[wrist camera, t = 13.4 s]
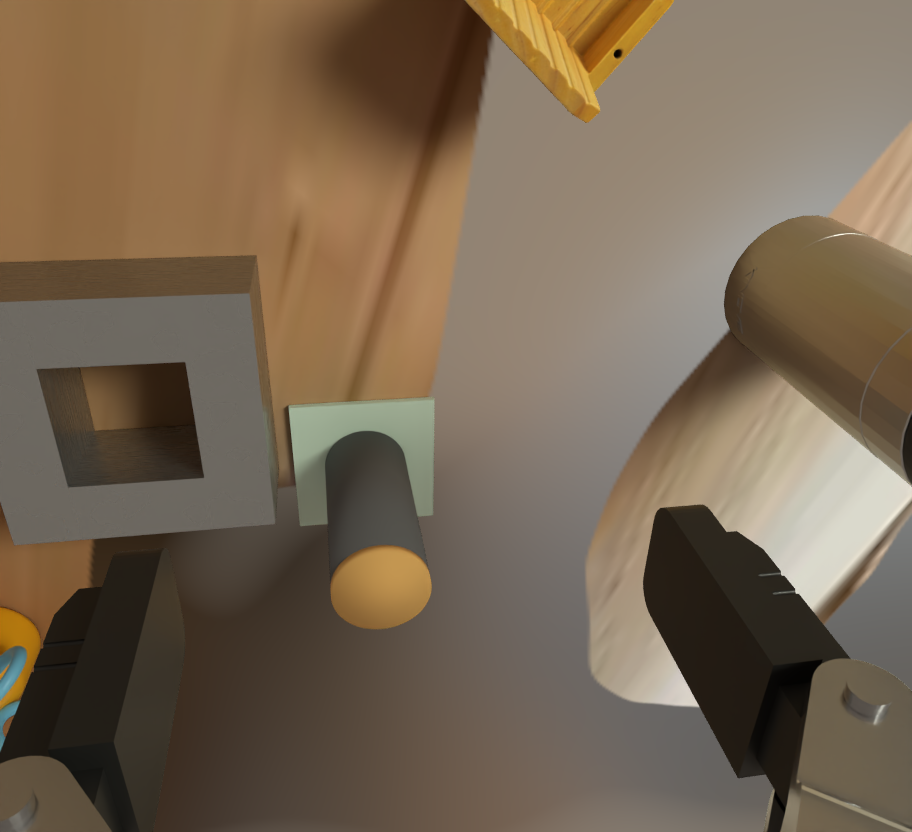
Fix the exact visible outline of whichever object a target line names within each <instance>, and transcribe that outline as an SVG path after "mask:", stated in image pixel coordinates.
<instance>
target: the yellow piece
mask: <svg viewBox="0 0 912 832" xmlns="http://www.w3.org/2000/svg"><path fill="white" fill-rule="evenodd" d="M465 1H466V3H467V4H468V5H469V6H470V7H471V8H472V9H473V10H474V11H475V12H476V13H477V14H478V15H479V16H480V17H481V18H482V20H483V21H484V22H485V23H486V24H487V25H488V26H489V27H490V28H491V29H492V30H493V31H494V32H495V33H496V35H497V36H498V37H499V38H500V39H501V40H502V41H503V42H504V43H505V44H506V45H507V46H508V47H509V49H510V50H511V51H512V52H513V53H514V54H515V55H516V56H517V57H518V58H519V59H520V60H521V61H522V62H523V63H524V64H525V65H526V66H527V67H528V68H529V69H530V70H531V71H532V72H533V73H534V75H535V76H536V77H538V79H539V80H540V81H541V82H542V83H543V84H544V85H545V87H546V88H547V89H548V90H549V91H550V92H551V93H552V94H553V95H554V96H555V97H556V98H557V99H558V100H559V101H560V102H561V103H562V104H563V105H564V106H565V108H566V109H567V110H568V111H569V112H570V113H571V114H573V115H574V116H576V117H578V118H579V119H581V120H582V121H584V122H585V123H587V122H589V121H590V120H591V119H593V118H594V117H595V116H596V115H597V114H598V113H599V112H600V107H599V105H598V102H597V99H596V97H595V94H594V92H595V91H596V90H597V89H598V88H599V87H600V85H601V84H602V83H603V82H604V81H605V80H606V79H607V77H608V76H609V75H610V74H611V73H612V72H613V70H615V68H616V67H617V66H618V65H619V64H620V63H621V62H622V61H623V60H624V58H625V57H626V56H627V55H628V54H629V53H630V52H631V51H632V49H633V48H634V47H635V46H636V45H637V44H638V42H639V41H640V40H641V39H642V38H643V37H644V36H645V35H646V34H647V32H648V31H649V30H650V29H651V28H652V27H653V25H654V24H655V23H656V22H657V21H658V20H659V19H660V18H661V17H662V15H663V14H664V13H665V12H666V11H667V10H668V9H669V7H670V6H671V5H672V3H673V2H674V0H465Z"/></svg>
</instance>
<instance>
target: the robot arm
mask: <svg viewBox="0 0 912 832" xmlns="http://www.w3.org/2000/svg"><path fill="white" fill-rule="evenodd" d="M724 308H725V316H726V320H727V323H728V325H729V328H730V330H731V331H732V333H733V334H734V336H735V337H736V338H737V339H738V340H739V341H740V342H741V343H742V344H743V345H745V346H746V347H747V348H748V349H749V350H751V351H752V352H753V353H754V354H755V355H756V356H758V357H759V358H760V359H761V360H762V361H763V362H765V363H766V364H767V365H768V366H769V367H770V368H771V369H772V370H774V371H775V372H776V373H777V374H778V375H780V376H781V377H782V378H783V379H784V380H785V381H787V382H788V383H789V384H790V385H791V386H793V387H794V388H795V389H796V390H797V391H799V392H800V393H801V394H802V395H803V396H804V397H806V398H807V399H808V400H809V401H810V402H812V403H813V404H814V405H815V406H816V407H818V408H819V409H820V410H821V411H822V412H824V413H825V414H826V415H827V416H828V417H829V418H831V419H832V420H833V421H834V422H835V423H837V424H838V425H839V426H840V427H841V428H843V429H844V430H845V431H846V432H847V433H848V434H850V435H851V436H852V437H853V438H854V439H856V440H857V441H858V442H859V443H860V444H862V445H863V446H864V447H865V448H866V449H867V450H869V451H870V452H871V453H872V454H873V455H875V456H876V457H877V458H879V459H880V460H881V461H882V462H883V463H884V464H886V465H887V466H888V467H889V468H890V469H892V470H893V471H894V472H895V473H896V474H898V475H899V476H900V477H901V478H902V479H904V480H905V481H906V482H907V483H908V484H909V485H911V486H912V256H911V255H909V254H907V253H904V252H902V251H900V250H898V249H896V248H893V247H891V246H889V245H887V244H885V243H883V242H880V241H878V240H877V239H875V238H872V237H870V236H868V235H866V234H864V233H862V232H859V231H857V230H855V229H853V228H851V227H849V226H846V225H844V224H842V223H840V222H838V221H835V220H833V219H831V218H826V217H822V216H801V217H797V218H792V219H788V220H786V221H784V222H782V223H779V224H777V225H775V226H773V227H772V228H770V229H769V230H767V231H766V232H764V233H763V234H761V235H760V236H759V237H758V238H757V239H756V240H755V241H754V242H753V243H751V244H750V246H748V248H747V249H746V250H745V251H744V253H743V254H742V255H741V257H740V258H739V259H738V261H737V263H736V265H735V266H734V268H733V270H732V272H731V274H730V277H729V280H728V283H727V287H726V290H725V299H724ZM643 589H644V597H645V602H646V605H647V609H648V611H649V613H650V616H651V617H652V619H653V621H654V623H655V625H656V627H657V629H658V630H659V632H660V634H661V636H662V638H663V640H664V642H665V643H666V645H667V647H668V649H669V651H670V653H671V655H672V656H673V658H674V660H675V662H676V664H677V666H678V668H679V669H680V671H681V673H682V675H683V677H684V679H685V681H686V682H687V684H688V686H689V688H690V690H691V692H692V694H693V695H694V697H695V699H696V701H697V703H698V705H699V707H700V708H701V710H702V712H703V714H704V715H705V718H706V720H707V721H708V723H709V725H710V727H711V729H712V730H713V733H714V734H715V736H716V738H717V740H718V742H719V744H720V746H721V747H722V749H723V751H724V753H725V755H726V757H727V758H728V760H729V762H730V764H731V766H732V768H733V770H734V772H735V773H736V775H737V777H738V778H743V777H750V776H757V775H764V774H766V775H767V777H768V779H769V781H770V783H771V784H772V786H773V791H772V794H771V797H770V800H769V804H768V810H767V816H766V820H765V826H764V831H763V832H912V691H911V690H910V689H909V688H908V687H907V686H906V685H905V684H904V683H903V682H902V681H900V680H899V679H898V678H897V677H895V676H894V675H892V674H891V673H889V672H888V671H886V670H884V669H882V668H880V667H877V666H875V665H873V664H870V663H867V662H864V661H860V660H854V659H850V658H849V656H848V655H847V654H846V652H845V651H844V650H843V649H842V647H841V646H840V645H839V644H838V643H837V641H836V640H835V639H834V638H833V636H832V635H831V634H830V632H829V631H828V630H827V629H826V627H825V626H824V625H823V624H822V622H821V621H820V620H819V619H818V617H817V616H816V615H815V614H814V612H813V611H812V610H811V608H810V607H809V606H808V605H807V603H806V602H805V601H804V600H803V598H802V597H801V596H800V595H799V594H796V593H795V588H794V587H793V586H792V585H791V583H790V582H789V581H788V580H787V578H786V577H785V576H781V571H780V570H779V568H778V567H777V566H776V565H775V563H774V562H773V561H772V560H771V558H770V557H769V556H768V555H767V553H766V552H765V551H764V550H763V549H762V548H761V547H759V546H758V545H756V544H755V543H753V542H752V541H750V540H749V539H747V538H746V537H744V536H743V535H742V534H740V533H739V532H737V531H734V532H726V531H725V529H724V528H723V527H722V525H721V524H720V523H719V521H718V520H717V519H716V517H715V516H714V515H713V513H712V512H711V511H710V510H709V509H708V507H706V506H705V505H690V506H678V507H666V508H660V509H659V510H658V511H657V512H656V515H655V518H654V523H653V528H652V534H651V539H650V545H649V550H648V556H647V561H646V566H645V572H644V578H643ZM43 645H44V646H43V649H41V650H40V652H39V655H38V657H37V660H36V662H35V665H34V672H32V673H31V675H30V678H29V680H28V683H27V685H26V688H25V690H24V693H23V695H22V698H21V700H20V703H19V705H18V708H17V710H16V713H15V715H14V718H13V720H12V723H11V725H10V728H9V731H8V733H7V736H6V738H5V741H4V743H3V746H2V748H1V751H0V832H153V829H154V823H155V818H156V812H157V807H158V801H159V796H160V790H161V785H162V779H163V774H164V768H165V762H166V757H167V751H168V746H169V740H170V734H171V729H172V724H173V718H174V713H175V707H176V702H177V696H178V691H179V685H180V679H181V673H182V668H183V663H184V654H185V630H184V622H183V616H182V611H181V606H180V601H179V596H178V591H177V586H176V581H175V576H174V571H173V567H172V561H171V557H170V553H169V551H168V549H167V548H159V549H148V550H136V551H123V552H116V553H115V554H114V555H113V558H112V560H111V563H110V566H109V569H108V572H107V575H106V578H105V581H104V584H103V587H95V588H84V589H78V590H77V591H76V593H75V594H74V595H73V596H72V597H71V598H70V599H69V600H68V601H67V602H66V603H65V604H64V605H63V606H62V607H61V608H60V609H59V610H58V612H57V613H56V614H55V615H54V617H53V620H52V622H51V625H50V627H49V630H48V632H47V635H46V637H45V640H44V642H43Z"/></svg>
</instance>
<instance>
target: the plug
mask: <svg viewBox="0 0 912 832" xmlns="http://www.w3.org/2000/svg"><path fill="white" fill-rule="evenodd" d="M325 477H326V499H327V521H328V543H329V564H330V588H331V600H332V604H333V607H334V609H335V610H336V612H337V613H338V614H339V616H341V617H342V618H343V619H344V620H345V621H347V622H349V623H351V624H353V625H355V626H358V627H361V628H366V629H386V628H390V627H395V626H398V625H401V624H403V623H405V622H407V621H409V620H410V619H412V618H414V617H415V616H416V615H417V614H418V613H420V611H422V609H423V608H424V607H425V605H426V604H427V602H428V600H429V598H430V595H431V589H432V586H431V578H430V574H429V569H428V565H427V560H426V555H425V550H424V545H423V540H422V536H421V531H420V526H419V521H418V517H417V512H416V507H415V502H414V498H413V493H412V488H411V483H410V479H409V474H408V469H407V464H406V460H405V455H404V452H403V450H402V448H401V447H400V445H399V444H398V443H397V442H396V441H395V440H394V439H393V438H391V437H390V436H388V435H386V434H383V433H380V432H376V431H359V432H354V433H351V434H349V435H347V436H345V437H343V438H341V439H340V440H338V441H337V442H336V443H335V444H334V445H333V446H332V448H331V449H330V451H329V452H328V455H327V457H326V461H325Z"/></svg>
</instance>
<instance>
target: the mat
mask: <svg viewBox="0 0 912 832" xmlns="http://www.w3.org/2000/svg"><path fill="white" fill-rule="evenodd" d="M289 416H290V427H291V438H292V448H293V459H294V469H295V480H296V491H297V501H298V511H299V523H300V526H310V525H322V524H328V521H327V499H326V477H325V461H326V457H327V455H328V452H329V451H330V449H331V448H332V446H333V445H334V444H335V443H336V442H337V441H338V440H340V439H341V438H343V437H345V436H347V435H349V434H351V433H354V432H359V431H376V432H380V433H383V434H386V435H388V436H390V437H391V438H393V439H394V440H395V441H396V442H397V443H398V444H399V445H400V447H401V448H402V450H403V452H404V455H405V460H406V464H407V469H408V474H409V479H410V483H411V488H412V493H413V498H414V502H415V507H416V512H417V517H420V516H432V515H433V492H434V489H433V488H434V484H433V483H434V397H422V398H404V399H387V400H369V401H352V402H335V403H317V404H300V405H289Z"/></svg>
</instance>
